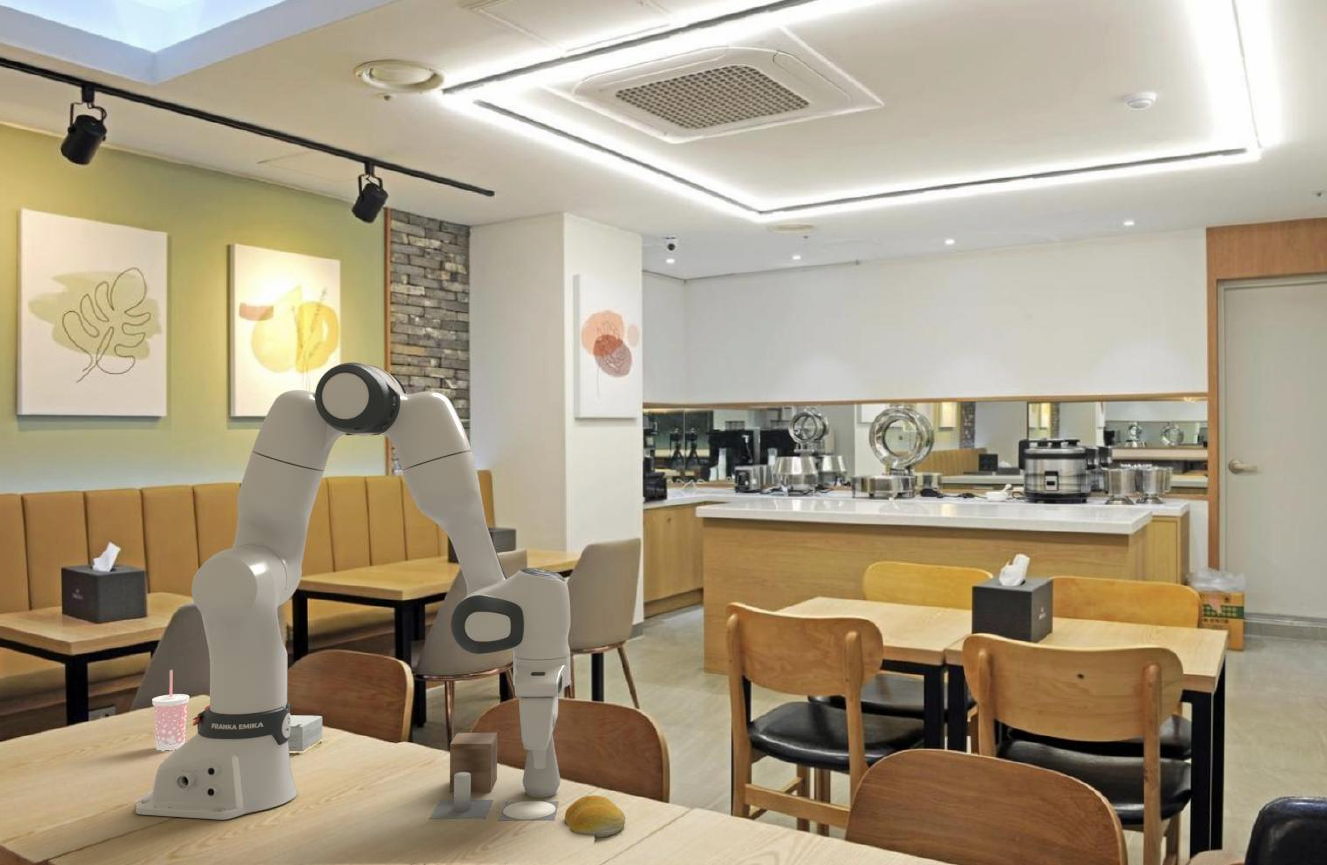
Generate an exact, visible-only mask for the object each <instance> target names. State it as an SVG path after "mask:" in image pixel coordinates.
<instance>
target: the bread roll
mask: <svg viewBox="0 0 1327 865" xmlns="http://www.w3.org/2000/svg"><path fill="white" fill-rule="evenodd" d="M564 820H565V823H566V824H567V825H568V826H569V828H570V830H571V831H572V832H574V833H580V834H588V835H594V838H603V837H609V835H610V836H613V835H615V834H617V833H618V832H620V831H622V829H624V827H625V824H626V815H625V813H624V811H623V810H621V809H620V808H618V806H617V805H616V804H615V803H614V802H613V801H611V800H610V799H609V798H606V797H605V796H600V795H595V794H594V795H585V796H582V797H581V798H578V799H576V800H575V801H574V802H573V803H572V804H570V805H569V807H568V808H567V809H566V810H565V815H564Z"/></svg>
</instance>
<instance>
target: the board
mask: <svg viewBox="0 0 1327 865" xmlns="http://www.w3.org/2000/svg"><path fill="white" fill-rule="evenodd" d="M471 793H472V792H471V774H470V773H468V772H460V773H456V774H454V792H453V799H440V800H439V801H438V803H437V805H436V807H435V808H434V810H433V812H432V814H431V815H430V816H429V820H451V819H453V820H457V819H458V820H460V819H461V820H462V819H472V820H474V819H476V820H477V819H479V820H480V819H482V820H483V819H486V818H487V816H488V814H489V811H490V808H491V806H492V804H493V802H494V799H471V798H472V797H471V796H472V795H471Z"/></svg>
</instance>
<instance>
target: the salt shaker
mask: <svg viewBox="0 0 1327 865" xmlns="http://www.w3.org/2000/svg"><path fill="white" fill-rule="evenodd" d="M556 723H557V720H556V718H555V714H553V727H554V728H555V727H556ZM555 749H556V748H555V741H554V736H553V734H552V735H551V738H550V742H549V745H548V748H547V749H546V766H545V768H544V769H535V768H534V756H533V750H527V753H526V754H527V755H526V760H525V764H524V771H523V777H522V785H523V788H524V790H525V793H526V794H527V795H528V796H529V797H530V798H536V799H537V798H541V799H544V798H550V797H552V796H555V794H557V791H558V788H559V787H560V785H561V776H560V771H559V765H558V759H557V755H556V750H555Z"/></svg>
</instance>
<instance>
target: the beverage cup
mask: <svg viewBox="0 0 1327 865" xmlns="http://www.w3.org/2000/svg"><path fill="white" fill-rule="evenodd" d="M173 674H174V672H173V669H169V694H165V695H159V696H156V697H153V698H152V699H151V701H152V703H151V704H152V705H153V710H154V711H153V714H154V716H153V718H154V731H155V732H154V733H155V750H156V749H157V750H156V751H158V750H161V751H160V752H166V751H165V750H173V751H176V750H175V749H178V748H180V747H181V746H182V745H183V744H185V743H186V742H185V740H186V731H187V730H186V728H187V727H186V726H187V716H188V713H187V712H188V703H189V701H190V695H188V694H184V693H183V694H182V693H173V681H174V680H173Z"/></svg>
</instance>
